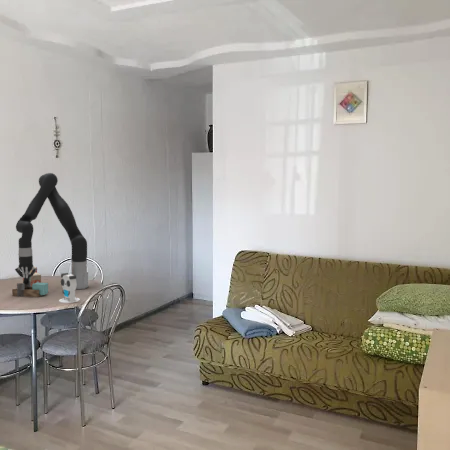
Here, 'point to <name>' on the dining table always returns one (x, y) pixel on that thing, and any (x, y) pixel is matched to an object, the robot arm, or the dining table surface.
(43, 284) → the block
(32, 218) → the robot arm
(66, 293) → the panda figurine
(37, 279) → the stack of blocks
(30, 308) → the dining table surface
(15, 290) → the wooden rail tray
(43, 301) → the dining table surface
